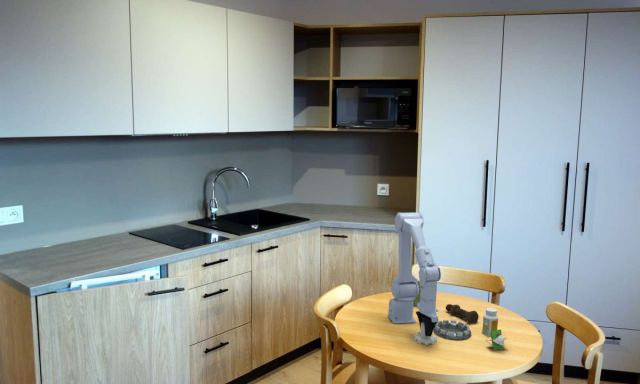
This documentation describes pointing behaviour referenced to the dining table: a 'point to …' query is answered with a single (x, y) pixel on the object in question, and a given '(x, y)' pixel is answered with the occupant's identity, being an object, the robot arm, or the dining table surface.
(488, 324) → the supplement bottle
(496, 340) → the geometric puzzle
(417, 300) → the plant pot
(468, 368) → the dining table surface
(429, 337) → the planet gear
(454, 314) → the bolt
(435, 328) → the carrier
